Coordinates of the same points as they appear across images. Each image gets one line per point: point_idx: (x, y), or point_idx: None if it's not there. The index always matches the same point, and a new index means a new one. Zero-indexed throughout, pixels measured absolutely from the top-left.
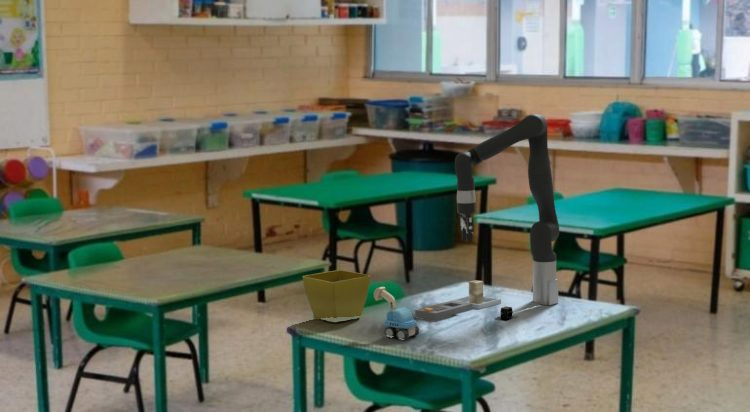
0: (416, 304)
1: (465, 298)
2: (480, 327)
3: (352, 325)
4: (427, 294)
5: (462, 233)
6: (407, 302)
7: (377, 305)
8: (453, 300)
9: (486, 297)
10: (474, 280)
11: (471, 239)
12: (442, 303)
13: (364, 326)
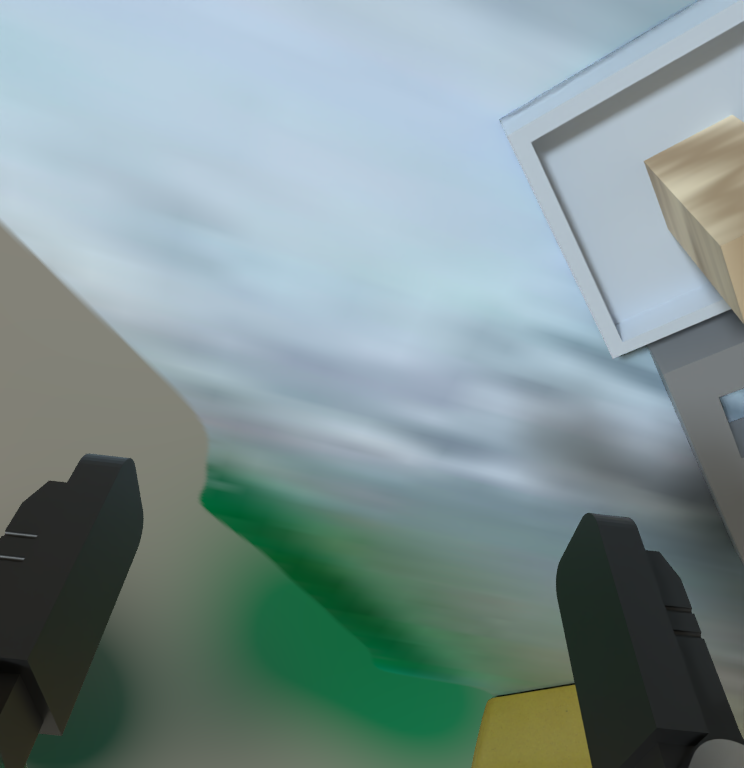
0: (440, 470)
1: (571, 231)
2: None
3: None
4: (164, 345)
5: (91, 661)
6: (369, 490)
7: (387, 593)
8: (627, 347)
9: (682, 54)
10: (729, 257)
11: (683, 597)
12: (706, 445)
13: (732, 689)
